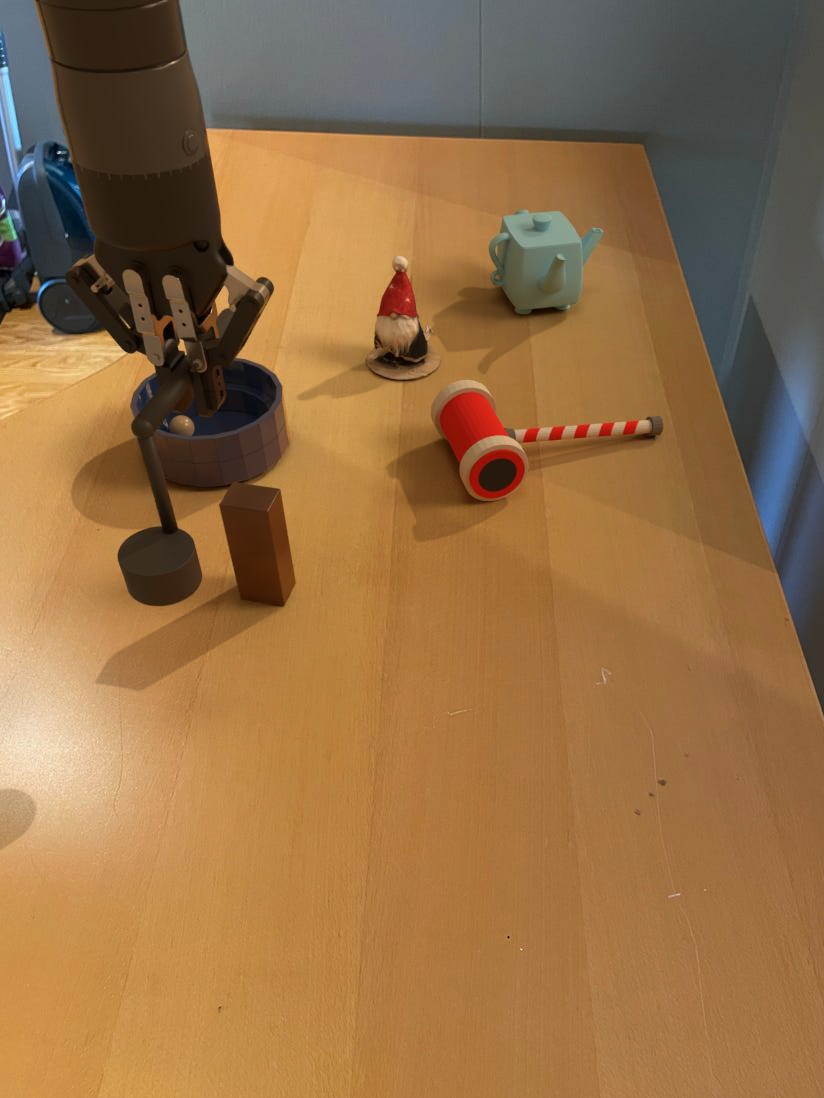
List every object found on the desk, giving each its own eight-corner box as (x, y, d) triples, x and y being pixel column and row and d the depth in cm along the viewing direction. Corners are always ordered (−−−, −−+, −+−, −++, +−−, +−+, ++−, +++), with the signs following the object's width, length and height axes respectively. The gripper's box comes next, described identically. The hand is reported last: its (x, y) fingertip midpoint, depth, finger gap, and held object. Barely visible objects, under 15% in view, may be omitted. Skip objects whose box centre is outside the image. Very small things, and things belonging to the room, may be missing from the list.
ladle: (184, 612, 64) (144, 469, 56) (114, 599, 65) (64, 456, 56) (284, 445, 77) (264, 309, 69) (225, 436, 78) (198, 300, 69)
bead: (168, 443, 96) (162, 422, 95) (178, 429, 98) (173, 409, 96) (190, 446, 96) (186, 425, 94) (200, 432, 98) (195, 412, 96)
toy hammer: (634, 402, 104) (642, 349, 99) (683, 466, 96) (694, 411, 92) (430, 438, 99) (429, 383, 94) (464, 508, 91) (465, 452, 87)
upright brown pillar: (239, 599, 82) (218, 504, 75) (252, 575, 84) (232, 481, 77) (284, 606, 82) (267, 512, 74) (296, 582, 84) (280, 488, 76)
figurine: (394, 369, 100) (355, 262, 101) (374, 404, 110) (339, 305, 110) (465, 352, 103) (427, 247, 103) (440, 387, 113) (405, 290, 113)
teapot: (470, 270, 124) (471, 189, 117) (574, 259, 126) (581, 180, 119) (507, 341, 112) (511, 257, 105) (621, 328, 115) (633, 245, 107)
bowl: (120, 480, 93) (104, 427, 89) (180, 399, 103) (168, 348, 98) (260, 501, 91) (251, 448, 87) (308, 417, 101) (302, 366, 97)
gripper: (279, 131, 55) (309, 393, 68) (59, 105, 57) (129, 366, 70) (228, 182, 50) (271, 455, 63) (-11, 153, 52) (78, 424, 65)
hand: (196, 408), depth 66 cm, fingers closed on ladle, 1 cm apart
